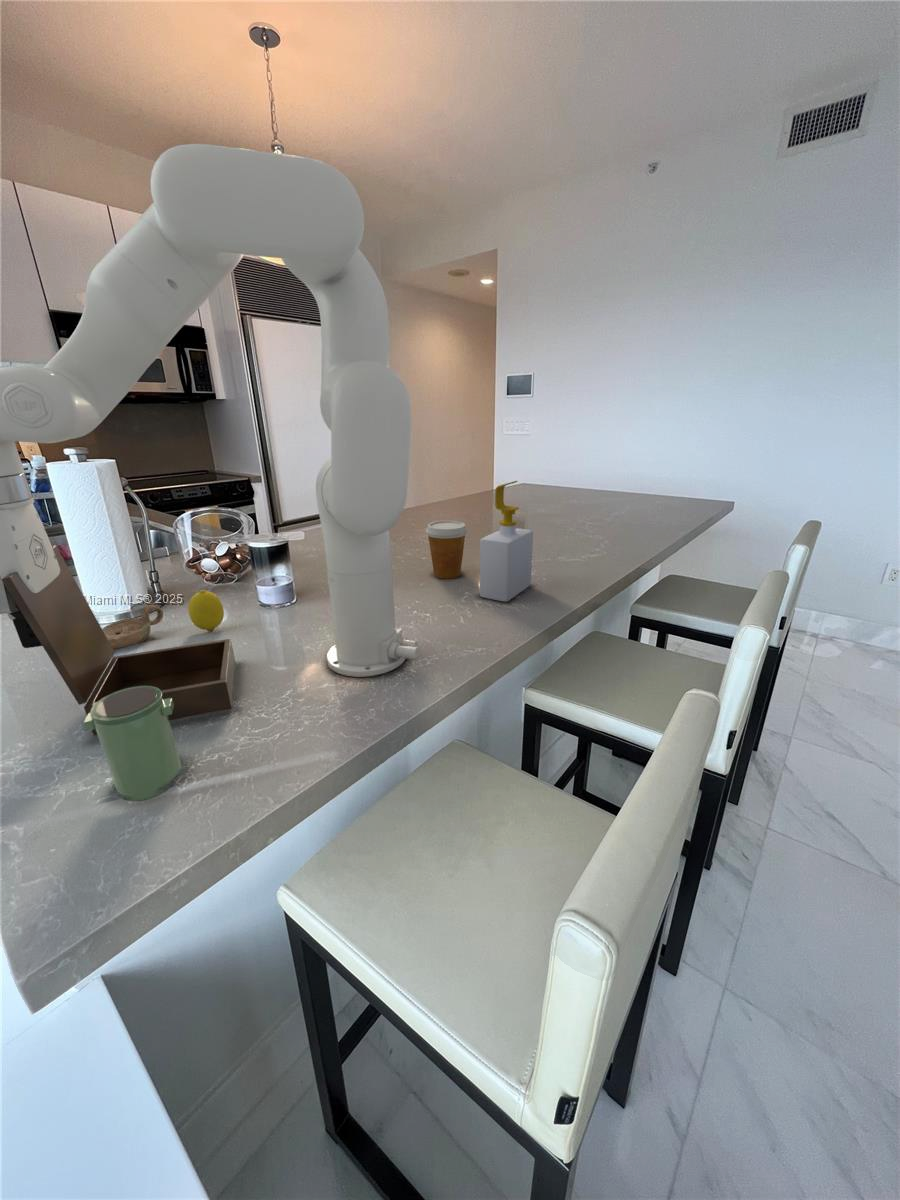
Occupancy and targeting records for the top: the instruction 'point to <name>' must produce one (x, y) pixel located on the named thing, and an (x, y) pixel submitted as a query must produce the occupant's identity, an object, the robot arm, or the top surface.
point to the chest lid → (65, 629)
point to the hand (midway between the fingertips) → (41, 643)
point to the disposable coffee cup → (446, 547)
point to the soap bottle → (505, 556)
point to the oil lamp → (131, 629)
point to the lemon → (206, 610)
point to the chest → (175, 677)
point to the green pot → (136, 740)
